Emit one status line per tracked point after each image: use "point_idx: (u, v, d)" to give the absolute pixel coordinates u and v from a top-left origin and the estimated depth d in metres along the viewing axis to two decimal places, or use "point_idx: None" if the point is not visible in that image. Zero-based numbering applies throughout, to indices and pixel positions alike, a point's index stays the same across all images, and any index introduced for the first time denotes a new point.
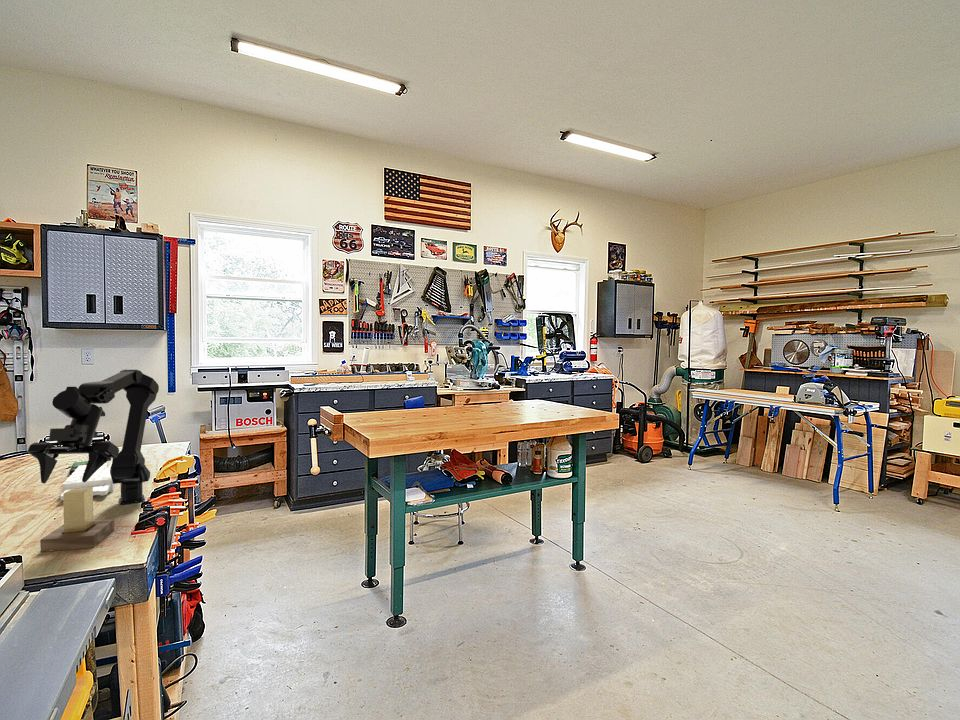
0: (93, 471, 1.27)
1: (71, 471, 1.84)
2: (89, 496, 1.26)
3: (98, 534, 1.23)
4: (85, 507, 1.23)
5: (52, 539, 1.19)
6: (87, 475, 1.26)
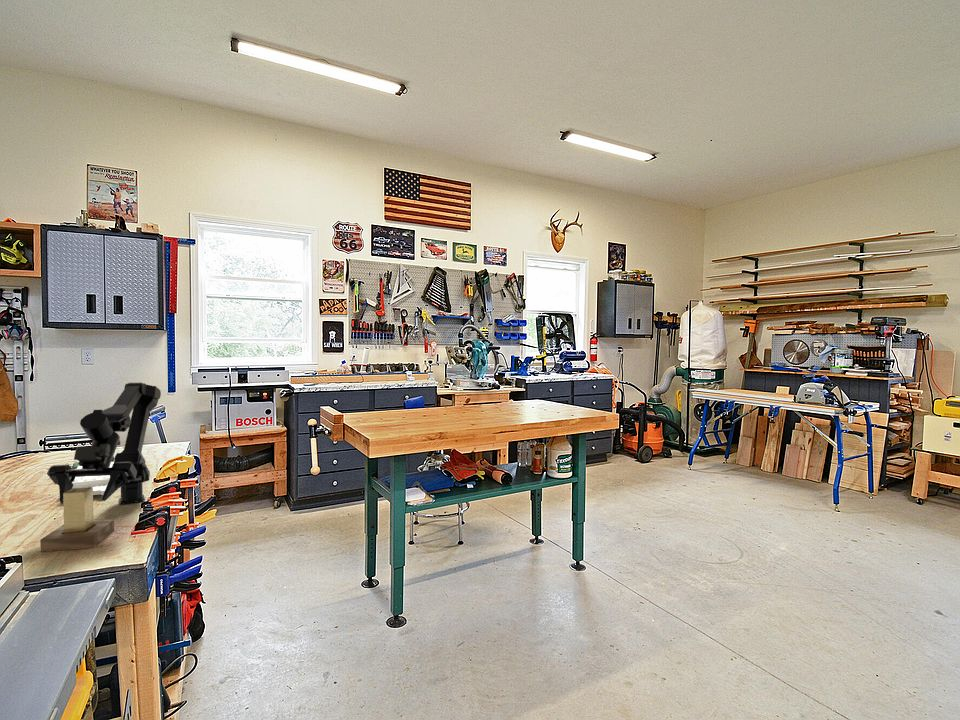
0: (112, 491, 1.30)
1: None
2: (90, 496, 1.26)
3: (98, 534, 1.23)
4: (85, 507, 1.23)
5: (52, 539, 1.19)
6: (107, 494, 1.29)
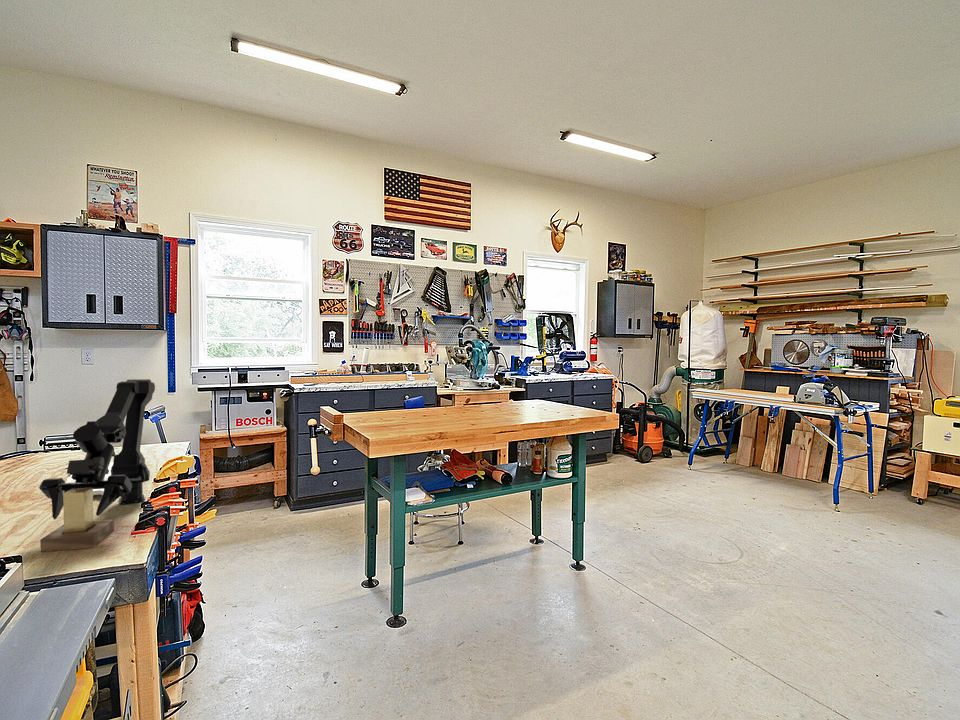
0: (106, 505, 1.27)
1: None
2: (89, 496, 1.26)
3: (98, 534, 1.23)
4: (85, 507, 1.23)
5: (52, 539, 1.19)
6: (101, 509, 1.25)
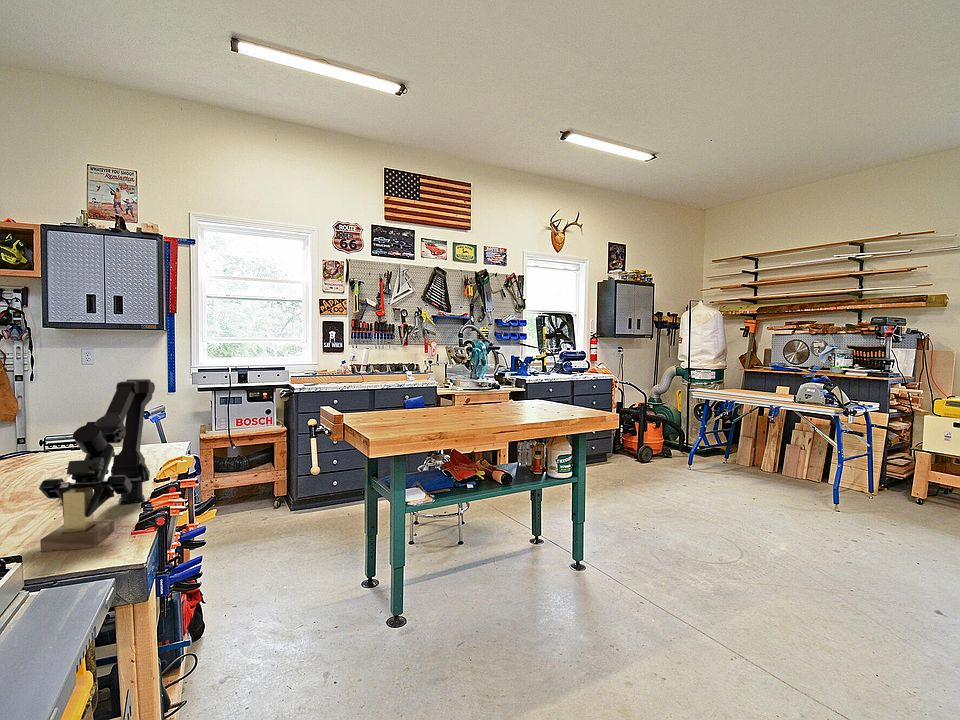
0: (96, 506, 1.27)
1: None
2: (89, 496, 1.26)
3: (98, 534, 1.23)
4: (85, 507, 1.23)
5: (52, 539, 1.19)
6: (91, 510, 1.25)
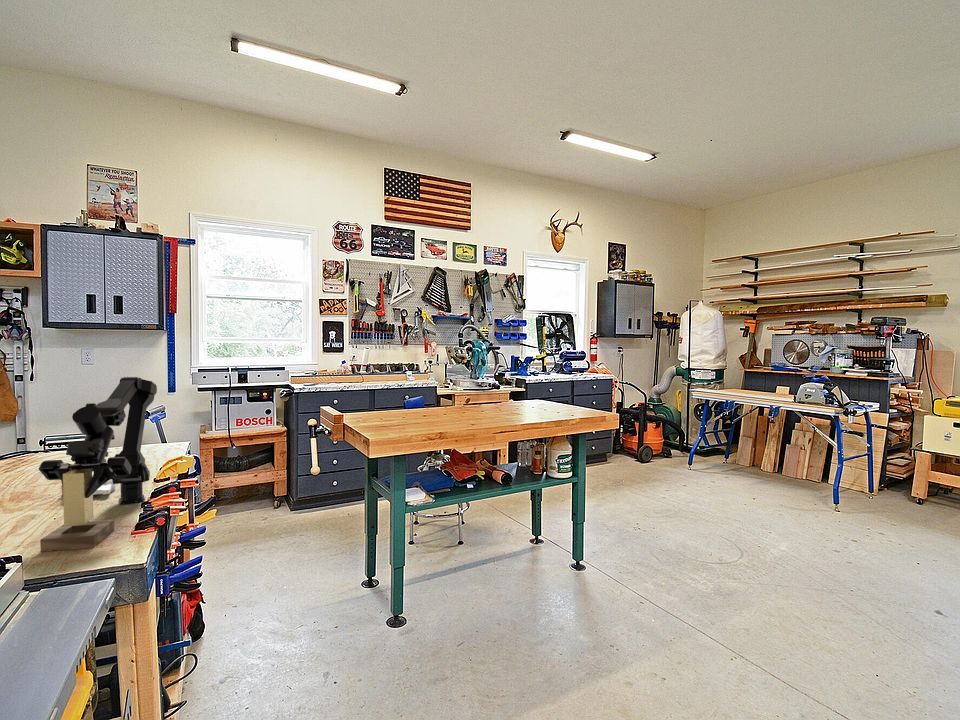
0: (96, 487, 1.26)
1: None
2: (89, 477, 1.25)
3: (98, 534, 1.23)
4: (84, 488, 1.23)
5: (52, 539, 1.19)
6: (91, 491, 1.25)
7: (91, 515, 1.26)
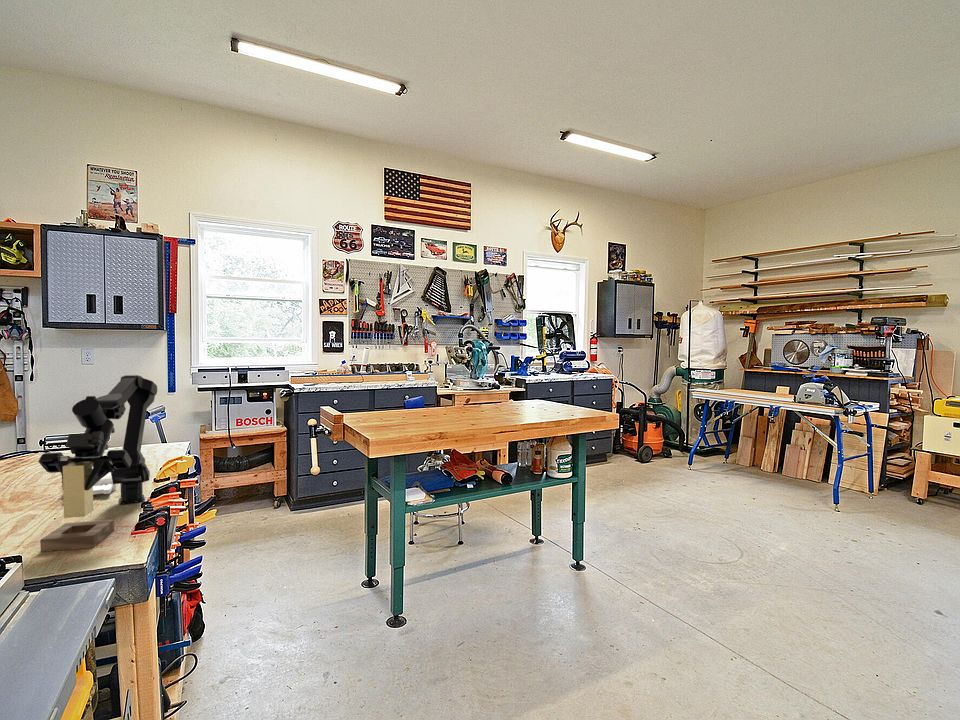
0: (96, 480, 1.26)
1: None
2: (89, 469, 1.25)
3: (98, 534, 1.23)
4: (84, 480, 1.23)
5: (52, 539, 1.19)
6: (91, 483, 1.25)
7: (91, 508, 1.26)
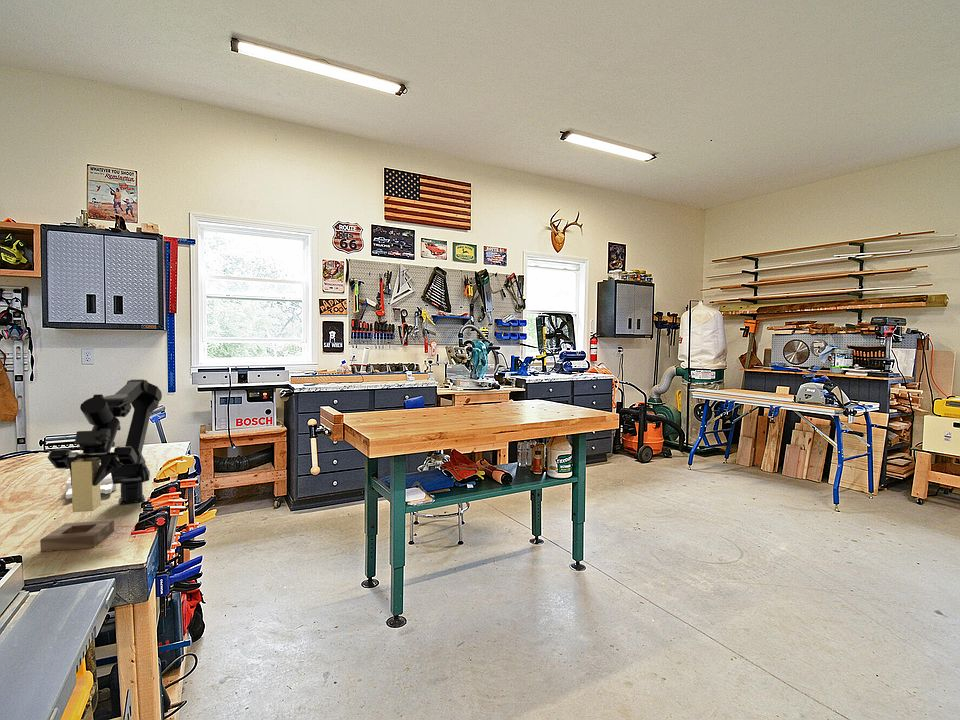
0: (103, 476, 1.30)
1: None
2: (97, 465, 1.29)
3: (98, 534, 1.23)
4: (92, 476, 1.27)
5: (52, 539, 1.19)
6: (98, 479, 1.28)
7: (98, 502, 1.30)
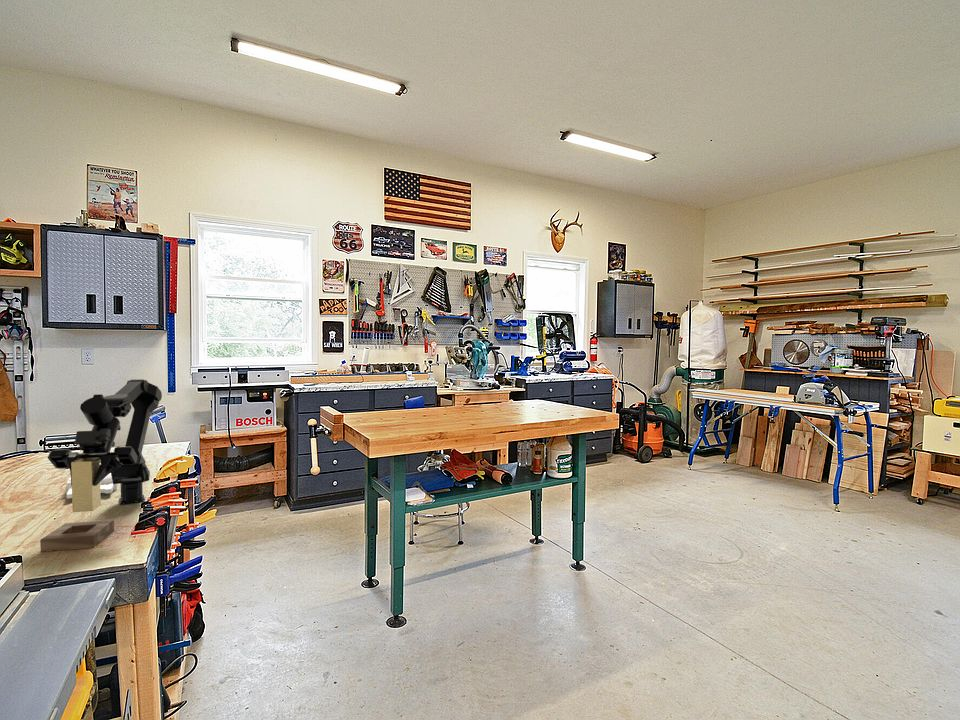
0: (103, 476, 1.30)
1: None
2: (97, 465, 1.29)
3: (98, 534, 1.23)
4: (92, 476, 1.27)
5: (52, 539, 1.19)
6: (98, 479, 1.28)
7: (98, 502, 1.30)
